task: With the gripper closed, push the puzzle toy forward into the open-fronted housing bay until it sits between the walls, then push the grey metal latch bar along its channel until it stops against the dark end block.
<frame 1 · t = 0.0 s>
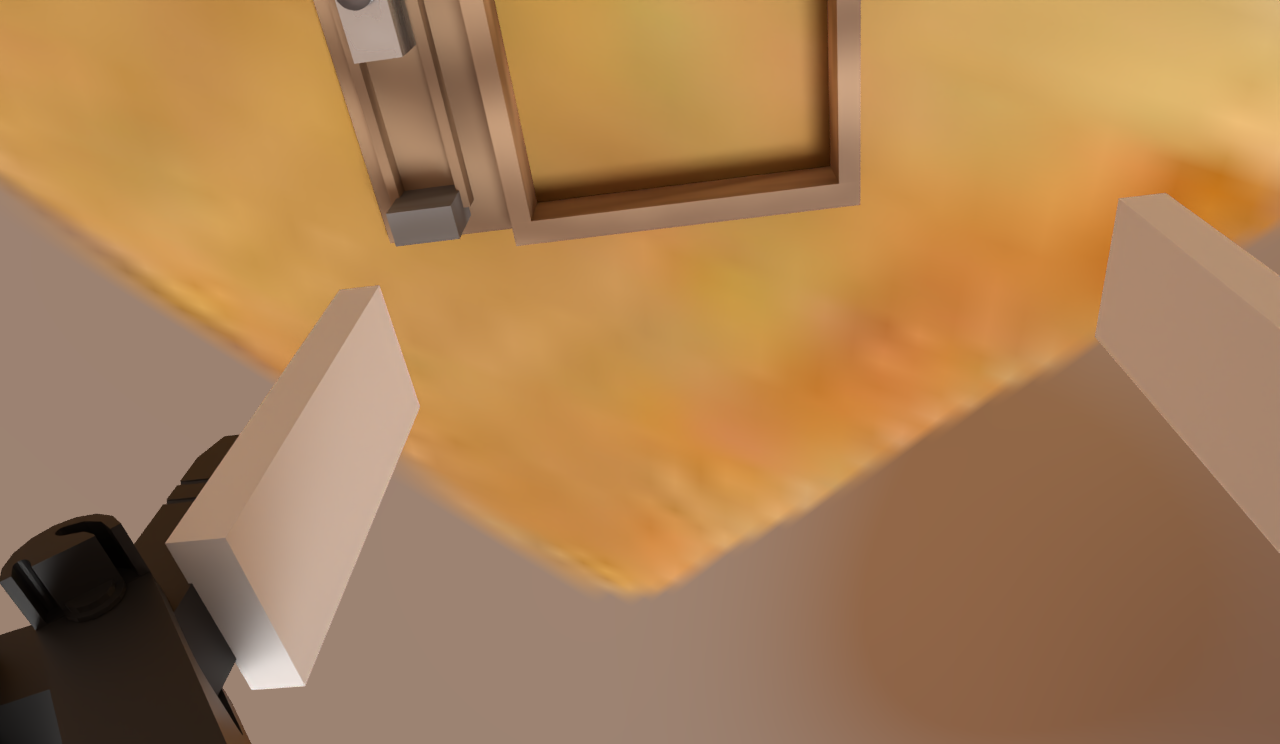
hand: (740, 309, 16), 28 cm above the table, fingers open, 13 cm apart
housing: (664, 41, 40), on the table
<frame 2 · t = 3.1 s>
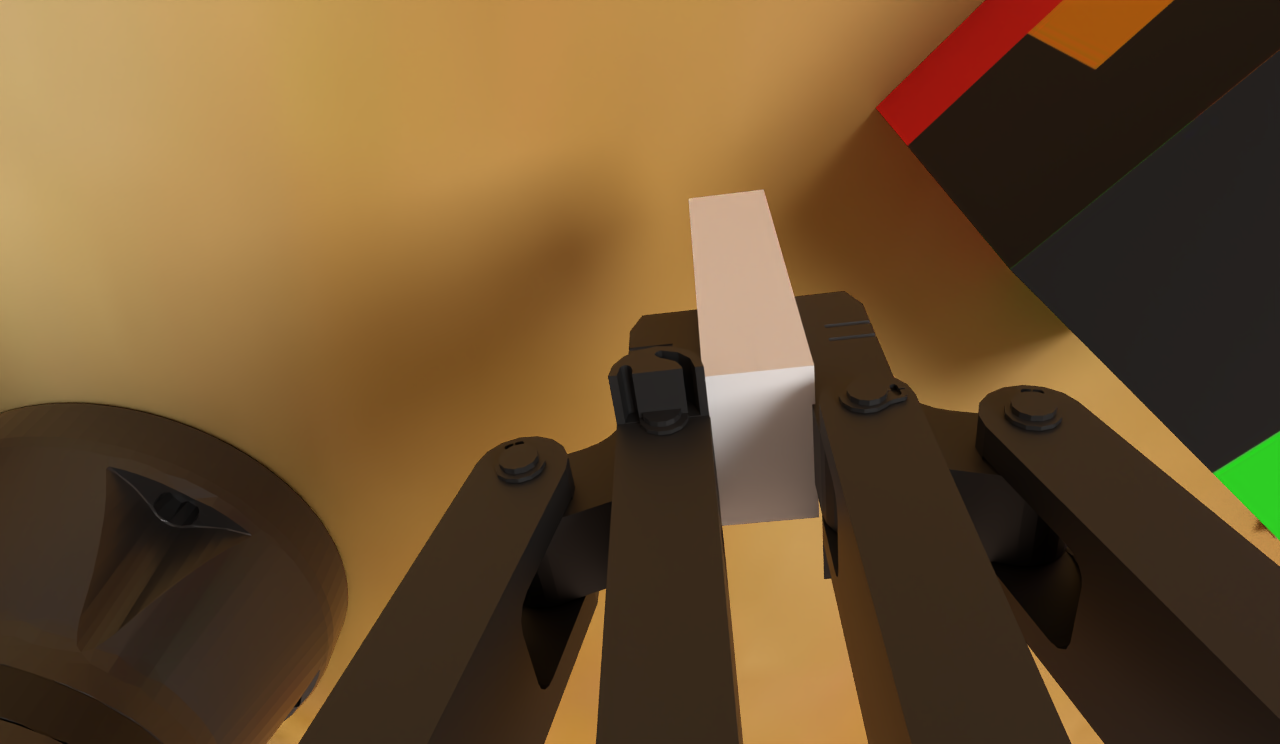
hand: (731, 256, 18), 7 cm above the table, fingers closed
puzzle toy: (1140, 88, 23), on the table
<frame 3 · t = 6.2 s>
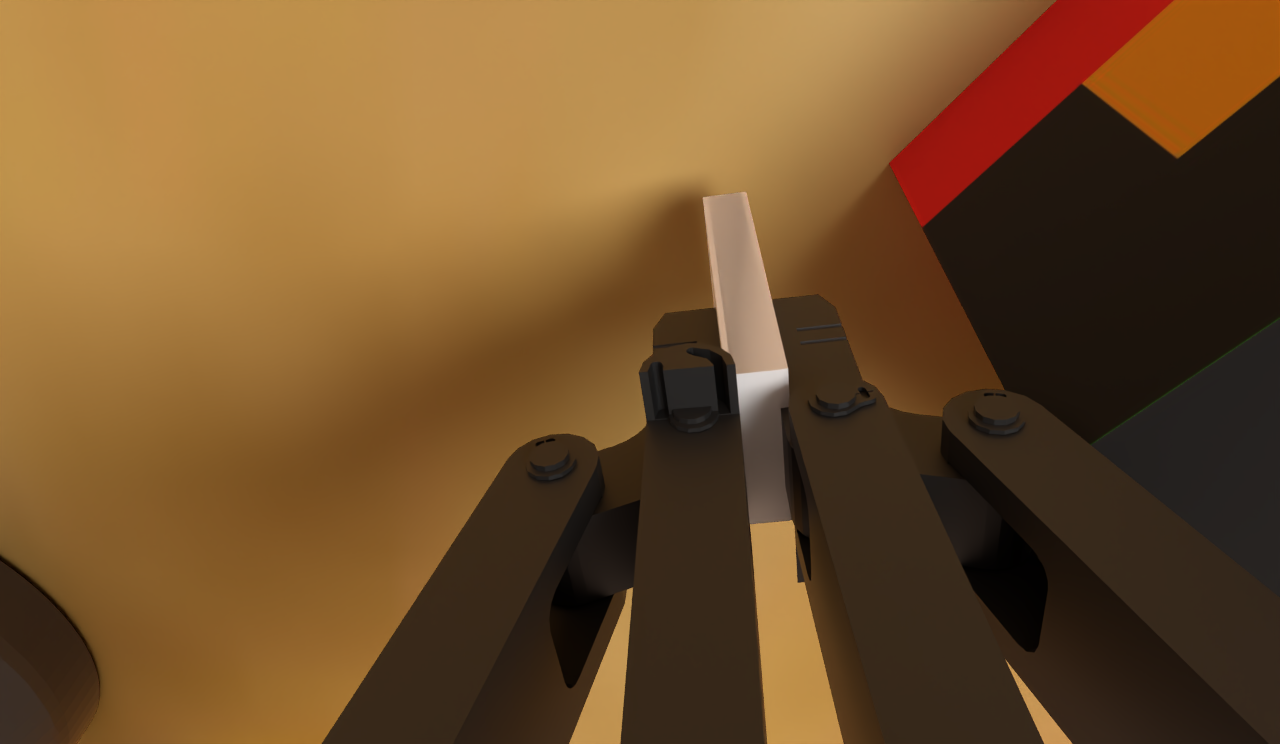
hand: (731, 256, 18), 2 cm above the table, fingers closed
puzzle toy: (1235, 125, 18), on the table, touching gripper, hand, housing
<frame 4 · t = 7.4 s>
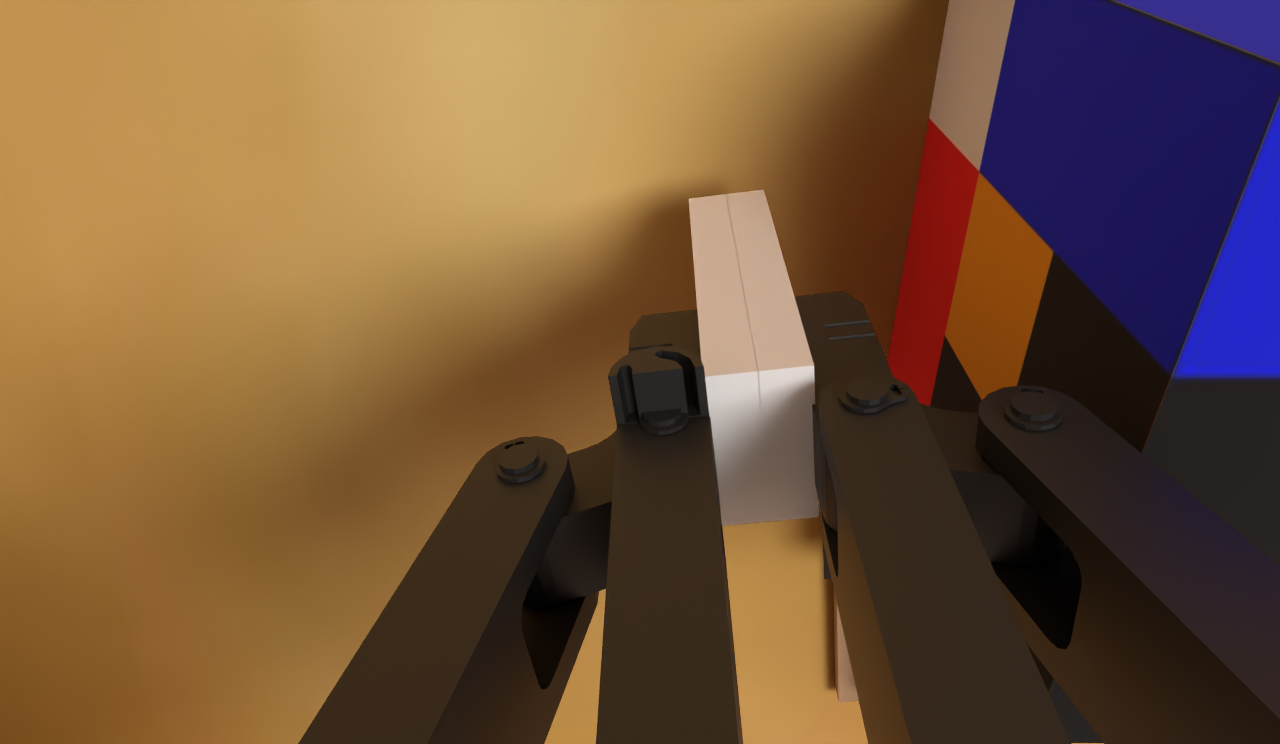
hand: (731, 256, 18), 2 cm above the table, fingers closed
puzzle toy: (1139, 189, 19), on the table
housing: (1241, 201, 19), on the table
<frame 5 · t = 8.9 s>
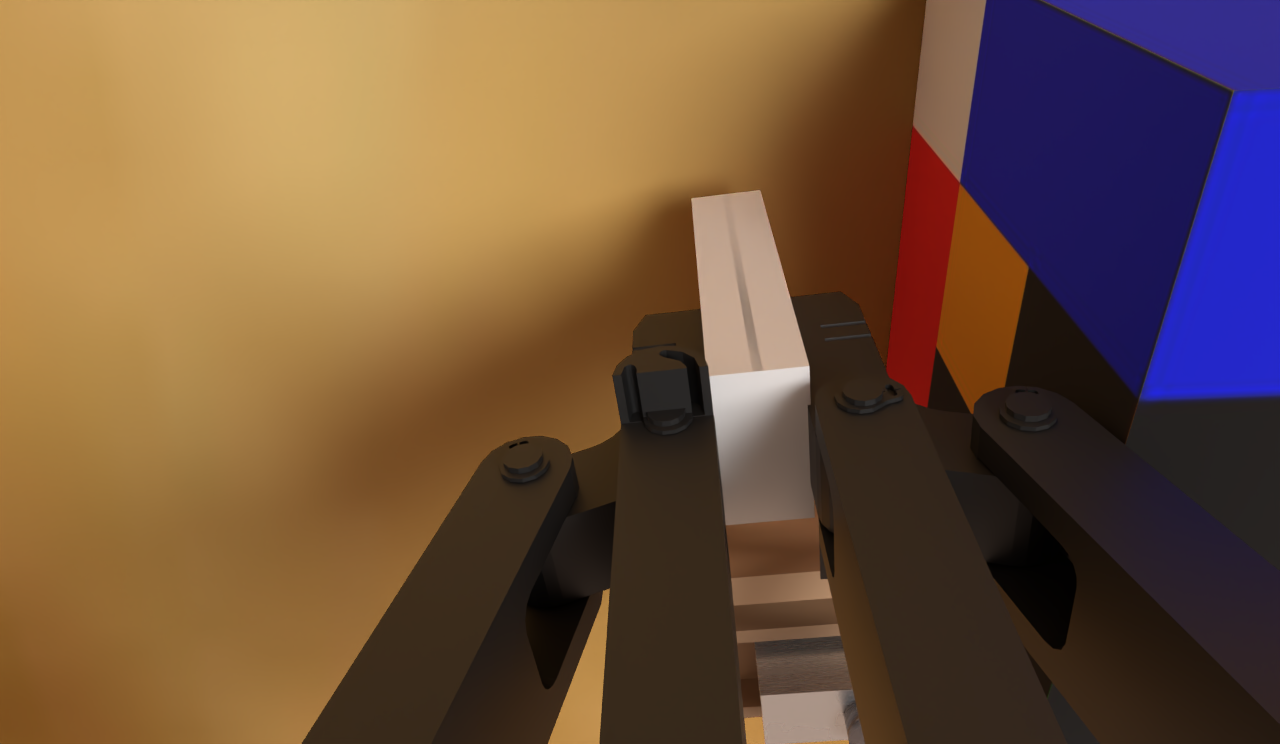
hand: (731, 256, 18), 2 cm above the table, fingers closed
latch: (867, 687, 24), point 2 cm above the table, slide at 0.0 cm
puzzle toy: (1135, 186, 19), on the table, touching hand, housing
housing: (1058, 224, 19), on the table
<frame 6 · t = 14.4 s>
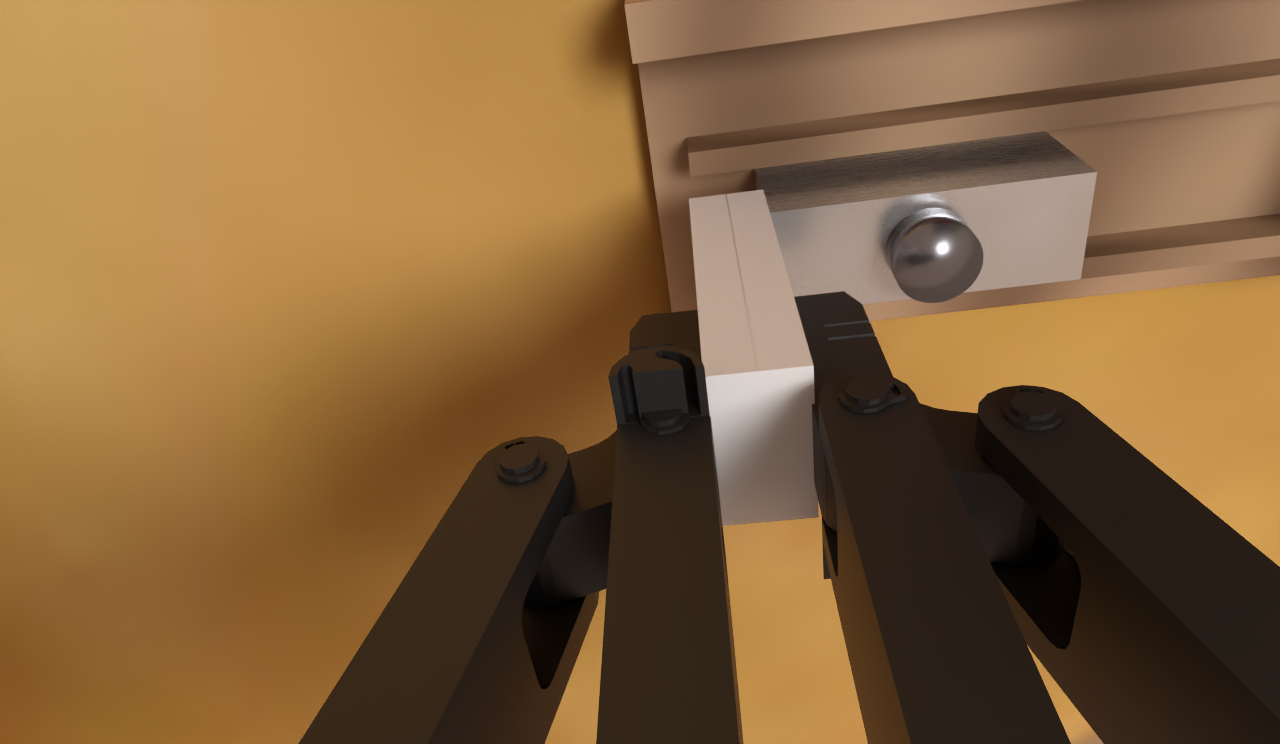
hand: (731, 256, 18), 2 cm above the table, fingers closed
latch: (916, 229, 17), point 2 cm above the table, slide at 0.7 cm, touching gripper
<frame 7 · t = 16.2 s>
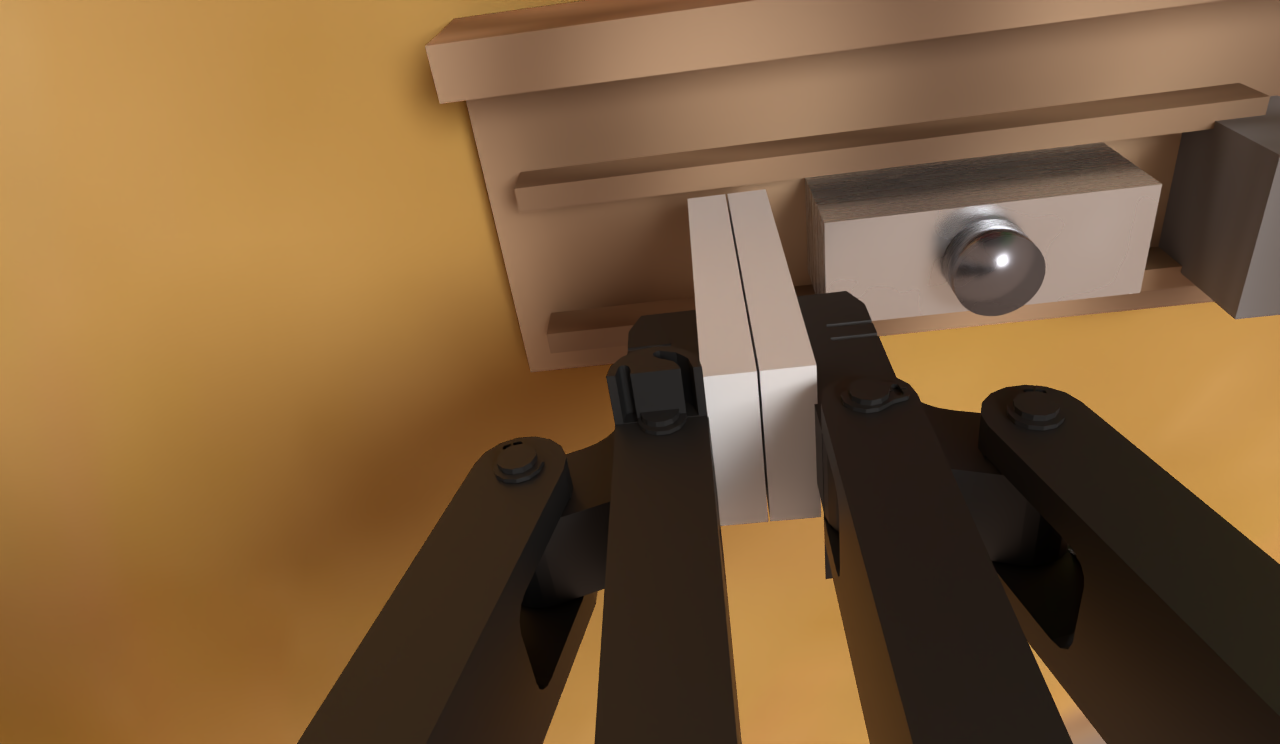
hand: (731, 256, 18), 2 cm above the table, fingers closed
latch: (971, 240, 17), point 2 cm above the table, slide at 5.2 cm
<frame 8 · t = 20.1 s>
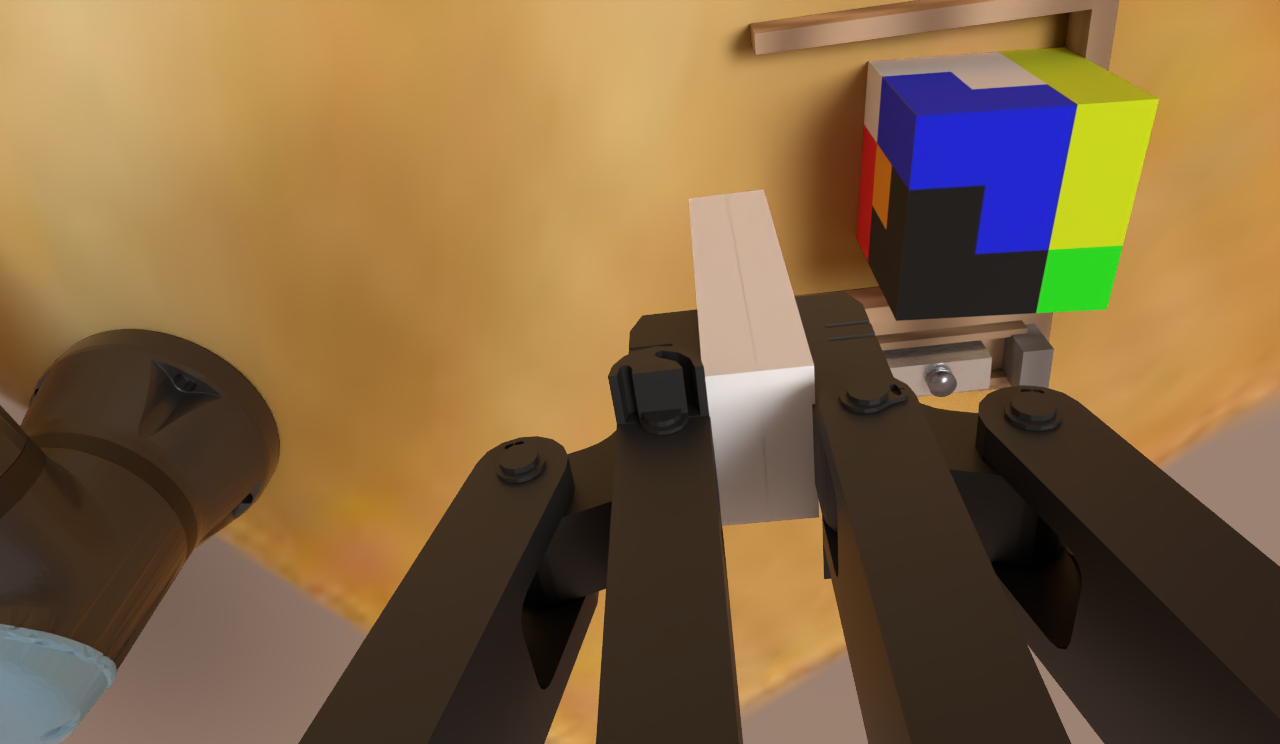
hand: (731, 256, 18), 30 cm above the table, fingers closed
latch: (935, 370, 52), point 2 cm above the table, slide at 5.2 cm
puzzle toy: (952, 146, 47), on the table
housing: (922, 162, 47), on the table
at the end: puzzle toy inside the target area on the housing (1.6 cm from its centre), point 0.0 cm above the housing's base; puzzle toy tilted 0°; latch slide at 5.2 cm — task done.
